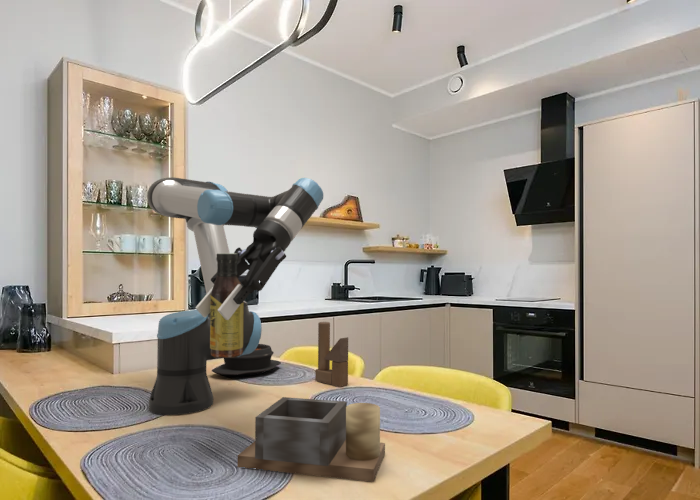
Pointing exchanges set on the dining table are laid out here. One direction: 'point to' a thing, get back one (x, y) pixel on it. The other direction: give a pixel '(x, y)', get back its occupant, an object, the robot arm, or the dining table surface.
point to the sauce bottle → (222, 332)
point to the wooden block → (331, 358)
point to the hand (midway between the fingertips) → (211, 313)
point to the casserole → (249, 362)
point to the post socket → (317, 439)
